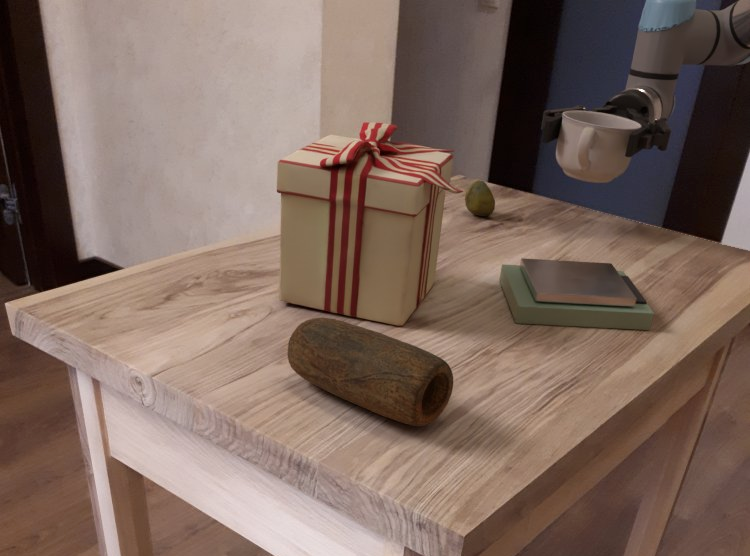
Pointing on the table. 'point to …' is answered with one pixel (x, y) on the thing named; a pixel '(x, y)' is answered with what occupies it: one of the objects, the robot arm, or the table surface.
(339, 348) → the wooden vase
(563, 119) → the teacup
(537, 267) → the pan
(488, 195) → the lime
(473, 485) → the table surface
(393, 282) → the gift box
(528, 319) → the scale
